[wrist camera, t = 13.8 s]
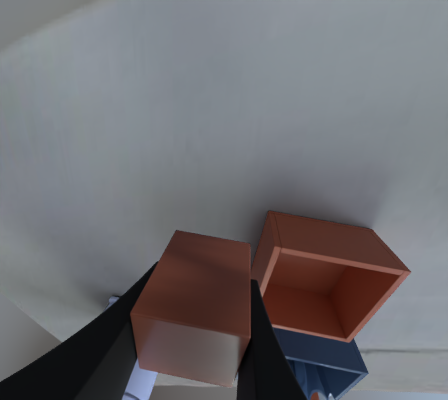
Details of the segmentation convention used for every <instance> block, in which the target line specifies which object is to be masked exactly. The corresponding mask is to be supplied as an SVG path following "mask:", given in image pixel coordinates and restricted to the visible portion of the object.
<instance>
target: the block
mask: <svg viewBox="0 0 448 400" xmlns="http://www.w3.org/2000/svg"><path fill="white" fill-rule="evenodd" d="M130 316H131V322H132V328H133V334H134V340H135V345H136V351H137V357H138V363H139V368H140V369H144V370H149V371H154V372H158V373H163V374H168V375H173V376H177V377H182V378H187V379H191V380H196V381H201V382H205V383H210V384H215V385H219V386H224V387H229V388H232V386H233V383H234V380H235V378H236V375H237V372H238V370H239V367H240V364H241V362H242V359H243V356H244V353H245V351H246V348H247V345H248V343H249V340H250V337H251V286H250V244H249V243H244V242H239V241H233V240H228V239H222V238H217V237H211V236H206V235H201V234H195V233H190V232H184V231H179V230H176V231H175V233H174V235H173V237H172V238H171V240H170V242H169V244H168V246H167V247H166V249H165V251H164V253H163V255H162V256H161V258H160V260H159V262H158V264H157V266H156V267H155V269H154V271H153V273H152V275H151V276H150V278H149V280H148V282H147V284H146V285H145V287H144V289H143V291H142V293H141V294H140V296H139V298H138V300H137V302H136V303H135V305H134V307H133V309H132V311H131V312H130Z"/></svg>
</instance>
